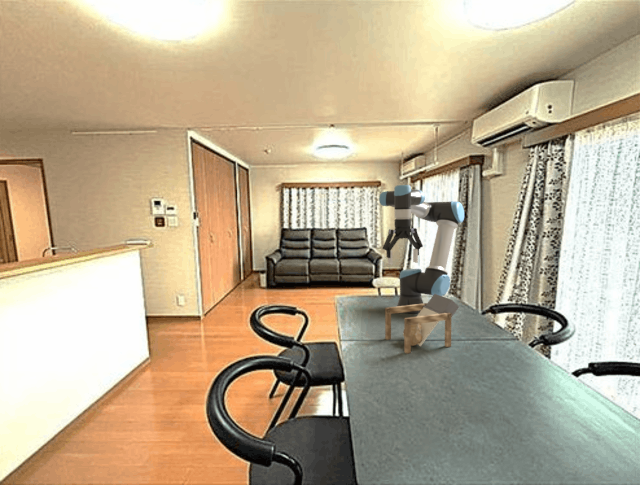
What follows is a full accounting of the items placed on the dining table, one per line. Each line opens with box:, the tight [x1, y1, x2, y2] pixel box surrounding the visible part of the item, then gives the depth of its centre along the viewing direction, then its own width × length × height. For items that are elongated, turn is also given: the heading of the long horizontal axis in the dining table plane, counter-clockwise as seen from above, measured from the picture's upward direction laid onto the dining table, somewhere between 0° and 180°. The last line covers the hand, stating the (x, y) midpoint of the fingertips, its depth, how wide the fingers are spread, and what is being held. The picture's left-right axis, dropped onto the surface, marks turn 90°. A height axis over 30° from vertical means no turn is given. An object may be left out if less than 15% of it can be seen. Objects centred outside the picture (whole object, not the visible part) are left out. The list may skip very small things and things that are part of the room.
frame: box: [384, 302, 453, 354], centre depth 152 cm, size 21×18×14 cm
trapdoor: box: [402, 294, 460, 347], centre depth 154 cm, size 24×14×5 cm
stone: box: [402, 323, 422, 347], centre depth 150 cm, size 8×10×4 cm
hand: (403, 263), depth 168 cm, fingers open, 13 cm apart
